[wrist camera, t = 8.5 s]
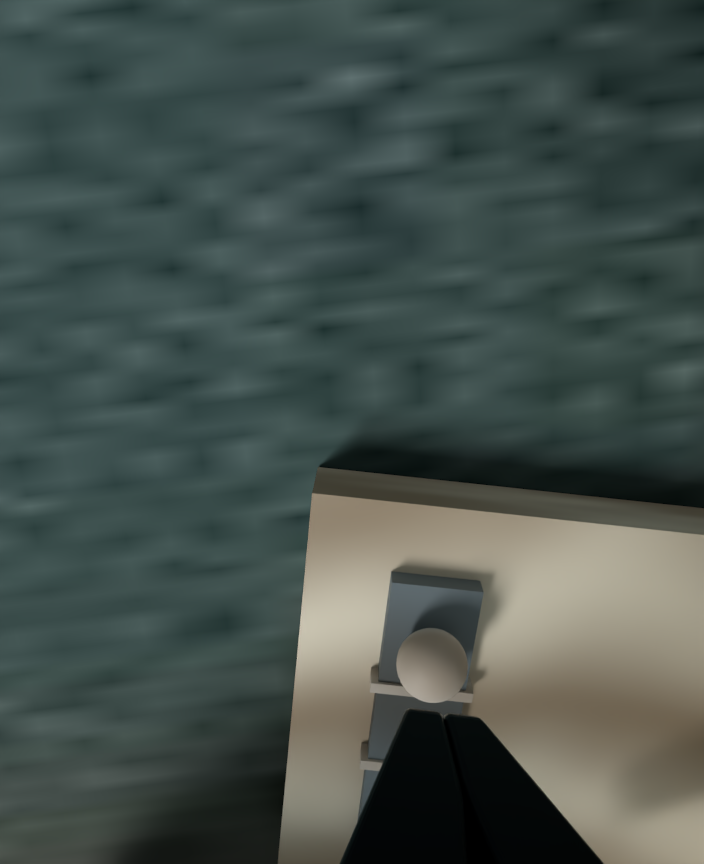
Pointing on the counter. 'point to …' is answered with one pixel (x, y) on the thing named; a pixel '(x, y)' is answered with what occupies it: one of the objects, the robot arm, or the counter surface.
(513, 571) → the latch board
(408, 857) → the robot arm
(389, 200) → the counter surface
